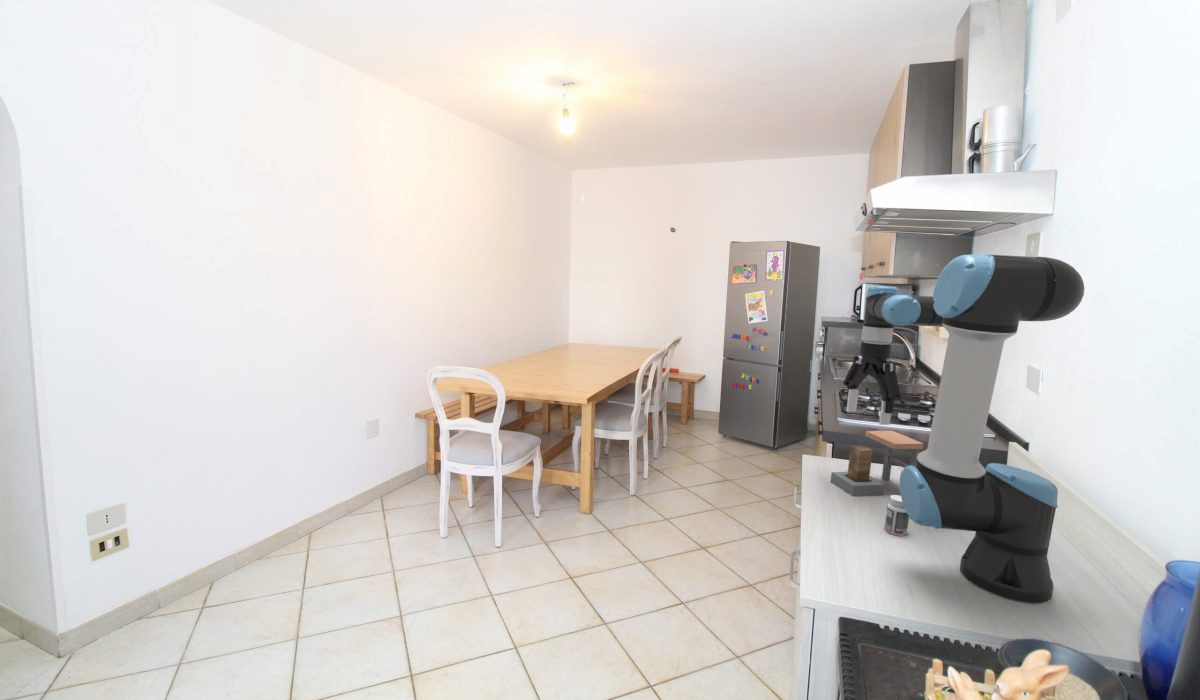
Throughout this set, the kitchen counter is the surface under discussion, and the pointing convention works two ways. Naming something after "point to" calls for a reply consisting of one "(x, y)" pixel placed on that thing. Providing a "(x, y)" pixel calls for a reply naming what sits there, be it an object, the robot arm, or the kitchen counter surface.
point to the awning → (895, 442)
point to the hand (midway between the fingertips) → (867, 417)
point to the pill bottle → (896, 517)
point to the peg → (859, 463)
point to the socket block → (857, 485)
